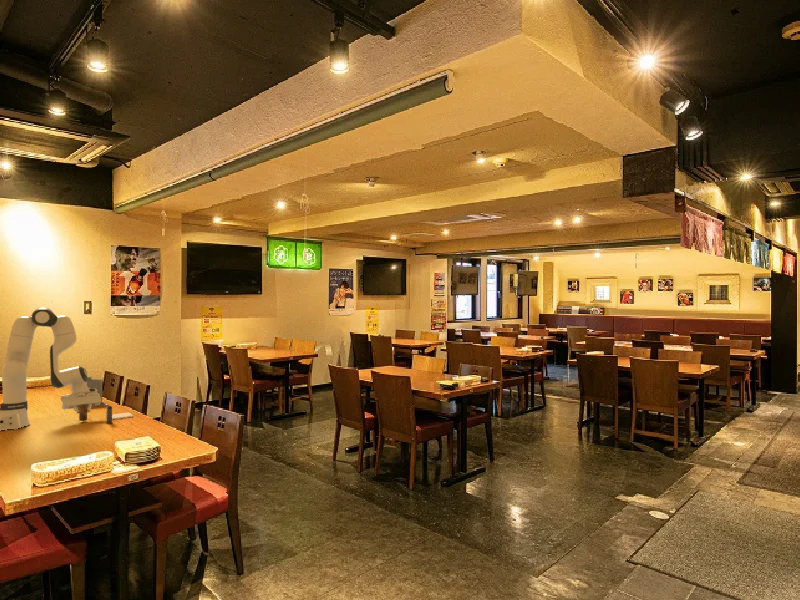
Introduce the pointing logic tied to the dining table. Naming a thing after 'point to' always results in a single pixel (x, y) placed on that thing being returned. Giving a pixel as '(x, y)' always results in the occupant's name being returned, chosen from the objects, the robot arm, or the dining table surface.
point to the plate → (121, 415)
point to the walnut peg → (83, 412)
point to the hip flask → (95, 385)
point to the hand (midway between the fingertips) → (83, 412)
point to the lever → (108, 412)
